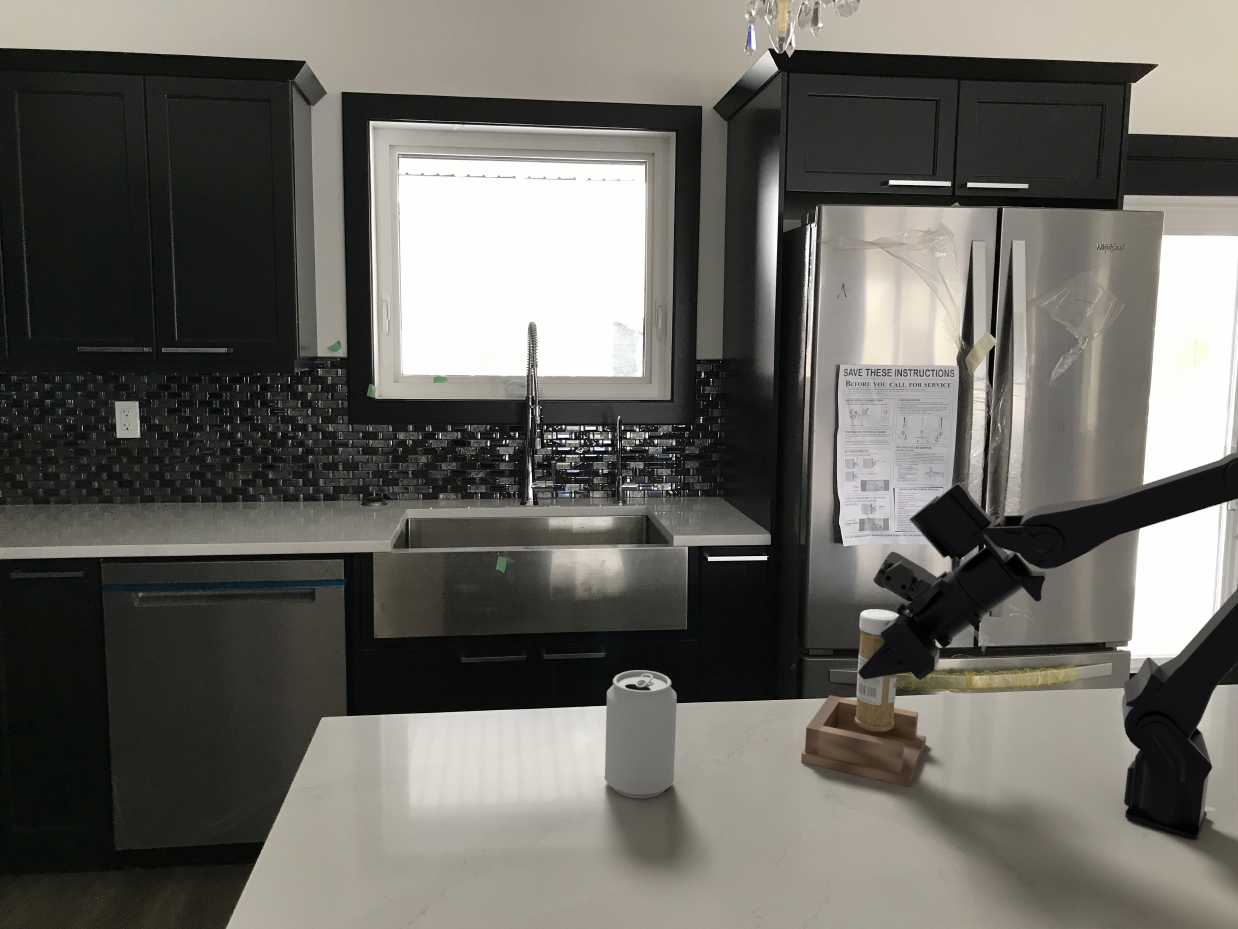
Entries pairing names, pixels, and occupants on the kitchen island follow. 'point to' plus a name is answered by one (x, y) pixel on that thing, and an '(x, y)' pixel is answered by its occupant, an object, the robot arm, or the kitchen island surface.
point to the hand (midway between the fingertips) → (865, 669)
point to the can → (640, 734)
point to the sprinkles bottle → (878, 691)
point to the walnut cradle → (863, 743)
